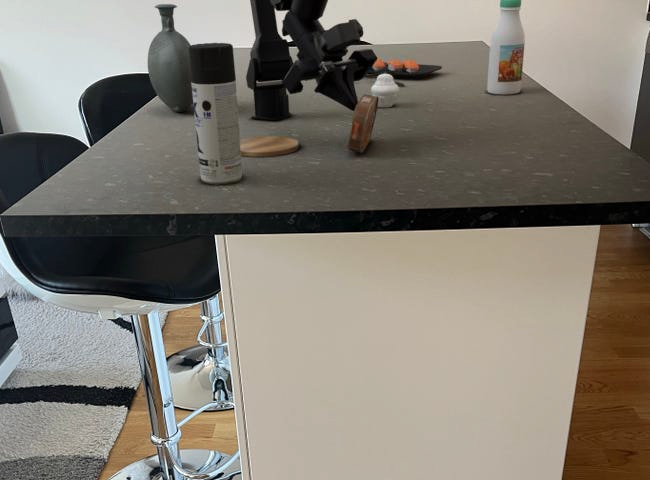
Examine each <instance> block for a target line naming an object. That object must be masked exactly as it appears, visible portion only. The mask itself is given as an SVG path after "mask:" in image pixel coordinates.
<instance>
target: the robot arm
mask: <svg viewBox="0 0 650 480" xmlns="http://www.w3.org/2000/svg"><path fill="white" fill-rule="evenodd" d="M249 2H250V10H251V16H252V23H253V30H254V36H255V39H254V41H253V43H252V47H251V49H250V52H249V53H250V54H249V55H250V59H249V63H248V66H247V71H246V75H245V81H246V87H247V88H248V89H250V90H252V92H253V105H254V115H251V116H250V119H251V120H263V121H273V122H274V121H280V120H283V119H285V118H287V117H290V116H292V112H290V102H289V100H290V97H289V95H294V94H299V93H302V92H303V89H304V84H303V83H302V82H303V81H305V82H308V81H312V80H313V81H314V80H315V83H316V86H315V88H314V89H313V91H314V92H315V94H320V95H322V96H325V97H327V98H329V99H331V100H333V101H334V102H336V103H338V104H340V105H341V106H343V107H345V108H347V109H348V110H350V111H352V112H354V111H355V108H356V105H357V103H358V102H359V100H358V96H357V92H356V88H355V87H356V86H355V82H360V81H361V80H363V79H364V76H365V75H366V74H367V72H368V71H369V70H370V68H371V67H372V66H373V64H374V63H375V62H376V61H377V58H378V56H377V55H376V53H375V52H374V50H373V49H372V48H364V49H356V50H353V52H351V54H350V55H349V57H348V58H347V59H343V57H345V56H347V54H348V53H349V50H348V47H350V46H352V45H353V44H355V43H356V44H357V43H359V42H361V38H363V36H364V27H363V26H362V24H361V23H360V22H359V21H358V20H357V19H356V18H353V19H348V22H340V23H337V24H335V25H333V26H331V27H330V28H328V29H325V27H324V26H323V25H322V23H321V22H320V20H319V19H321V18H322V17H323V16H324V13H325V11H326V7H327V5H328V2H329V0H249ZM276 12H286V13H285V15H284V19H282V20H281V21H282V27H281V34H280V33H279V29H278V24H277V23H278V22H277V16H276ZM281 35H282V36H281ZM288 36H289V37H290V39H291V41H292V43H294V46H295V47H296V48H297V50H298V52H297V54H295V55H296V57H297V59H296V60H293V57H292V56H291V53H290V45H289V42H288V40H287V39H286V38H283V37H288ZM287 92H288V93H287Z"/></svg>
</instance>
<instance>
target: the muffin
mask: <svg viewBox="0 0 650 480" xmlns="http://www.w3.org/2000/svg"><path fill="white" fill-rule="evenodd" d="M394 81H395V80H394V78H393V77H392V76H391V75H390V74H386V73H384V74H381V75H379V76H378V77H377V78H376V81H375V82H374V84H373V85H372V86H371V88H370V92H371V96H378V107H379V108H391V107H393V105H394V103H395V101H396V98H397V97H398V93H399V92H400V87H399V85H397V84H395V82H394ZM378 107H377V108H378Z"/></svg>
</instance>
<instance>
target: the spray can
mask: <svg viewBox="0 0 650 480" xmlns="http://www.w3.org/2000/svg"><path fill="white" fill-rule="evenodd" d="M190 45H191V46H189V59H190V72H191V83H192V94H193V104H192V105H193V113H194V123H195V133H196V143H197V144H196V146H197V155H198V164H199V165H198V166H199V174H200V180H201V181H202V182H203V183H205V184H209V185H229V184H233V183H237V182H238V181H240V180H241V179H243V165H242V155H241V149H240V140H241V137H240V136H241V135H240V123H239V108H238V94H237V78H236V69H235V67H236V65H235V57H234V56H235V55H234V46H233V44H232V43H228V42H211V43H209V42H205V43H195V44H190Z"/></svg>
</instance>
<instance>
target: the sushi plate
mask: <svg viewBox="0 0 650 480" xmlns="http://www.w3.org/2000/svg"><path fill="white" fill-rule="evenodd" d="M442 69H443V66H442V65H435V64H419V63H418V62H416V61H415V60H414V59H413V60H412V59H405V60H402V62H401V61H400V60H399V59H391V60H389V61H387V62H384V61H383V60H382V59H381V58H378V57H377V61H376V62H375V63H374V64H373V66H372V67H371V68H370V70H369V71H368V72H367V74H366V75H365V76H364V78H369V77H371V78H374V79H377V77H378V76H379V75H381V74H384V73H386V74H390V75H391V76H392V77H393V79H406V80H407V79H409V80H412V79H413V80H415V79H416V80H417V79H421V78H425V77H427V76H429V74H431V73H434V72H437V71H440V70H442ZM364 78H363V79H364ZM393 81H394V82H395V84H397V86H398V87H399V86H400V87H405V84H404V83H403V82H400V81H395V80H393Z"/></svg>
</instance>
